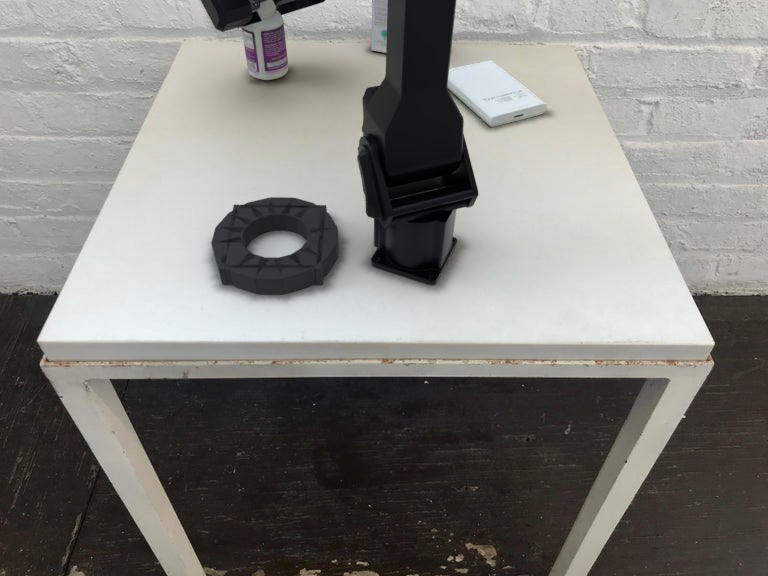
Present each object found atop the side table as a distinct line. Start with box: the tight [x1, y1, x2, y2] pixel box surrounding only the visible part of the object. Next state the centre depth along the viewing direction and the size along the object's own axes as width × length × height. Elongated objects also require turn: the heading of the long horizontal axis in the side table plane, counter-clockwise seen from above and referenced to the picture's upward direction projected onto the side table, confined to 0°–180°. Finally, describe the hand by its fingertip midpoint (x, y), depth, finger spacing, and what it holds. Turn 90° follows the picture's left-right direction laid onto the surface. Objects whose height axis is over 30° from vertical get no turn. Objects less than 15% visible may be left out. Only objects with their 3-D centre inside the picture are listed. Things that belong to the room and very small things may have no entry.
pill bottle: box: [241, 0, 289, 81], centre depth 79 cm, size 5×5×10 cm
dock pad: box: [210, 196, 339, 295], centre depth 58 cm, size 11×11×2 cm
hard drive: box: [448, 60, 548, 128], centre depth 79 cm, size 2×8×12 cm
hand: (256, 18), depth 79 cm, fingers closed on pill bottle, 5 cm apart
